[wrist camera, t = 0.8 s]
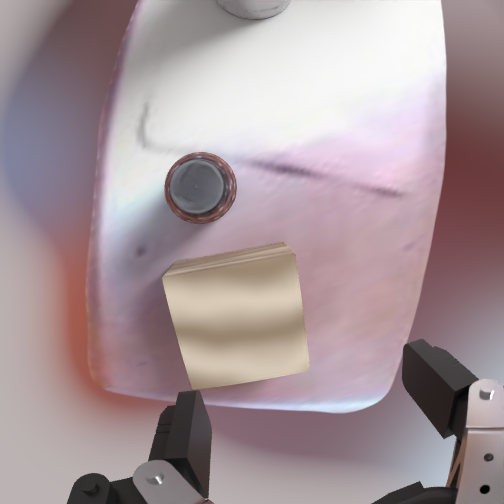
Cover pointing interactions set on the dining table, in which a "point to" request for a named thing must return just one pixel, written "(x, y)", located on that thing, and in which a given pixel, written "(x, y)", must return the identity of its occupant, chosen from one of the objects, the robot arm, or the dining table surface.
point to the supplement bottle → (200, 188)
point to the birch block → (238, 315)
